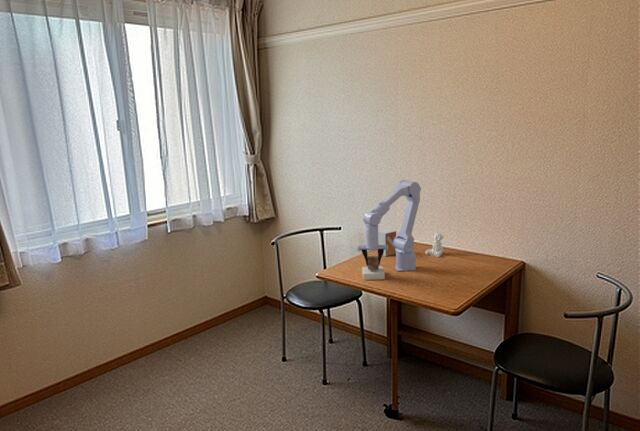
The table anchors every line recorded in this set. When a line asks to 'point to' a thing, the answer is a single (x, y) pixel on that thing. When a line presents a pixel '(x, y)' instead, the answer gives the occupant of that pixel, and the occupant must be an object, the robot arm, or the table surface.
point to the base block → (373, 273)
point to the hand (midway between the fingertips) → (372, 264)
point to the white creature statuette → (436, 246)
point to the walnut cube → (373, 262)
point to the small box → (387, 241)
